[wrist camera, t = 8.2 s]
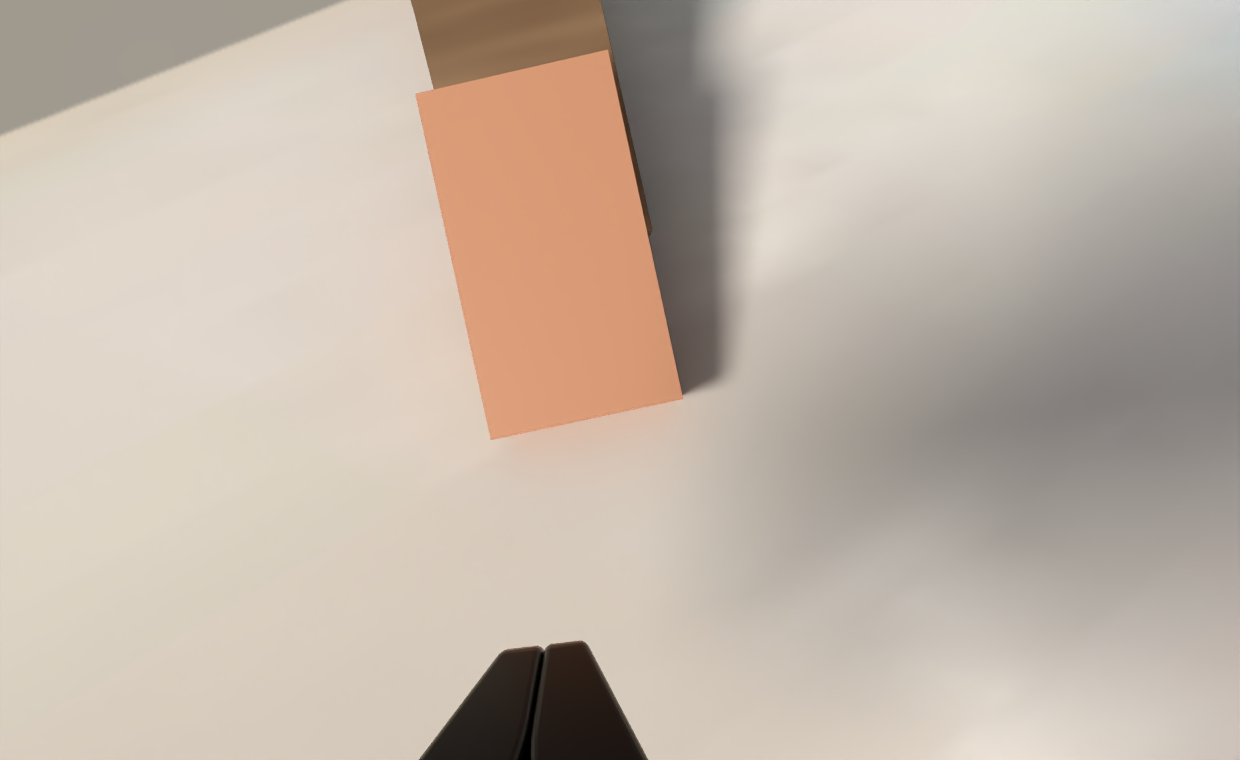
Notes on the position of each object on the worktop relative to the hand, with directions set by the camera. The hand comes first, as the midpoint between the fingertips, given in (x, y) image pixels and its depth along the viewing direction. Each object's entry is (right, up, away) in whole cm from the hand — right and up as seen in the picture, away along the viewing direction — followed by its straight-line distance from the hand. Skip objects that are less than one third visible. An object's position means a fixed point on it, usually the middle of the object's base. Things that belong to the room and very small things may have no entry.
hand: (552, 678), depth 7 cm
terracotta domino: (0, +2, +12) cm, 12 cm away
